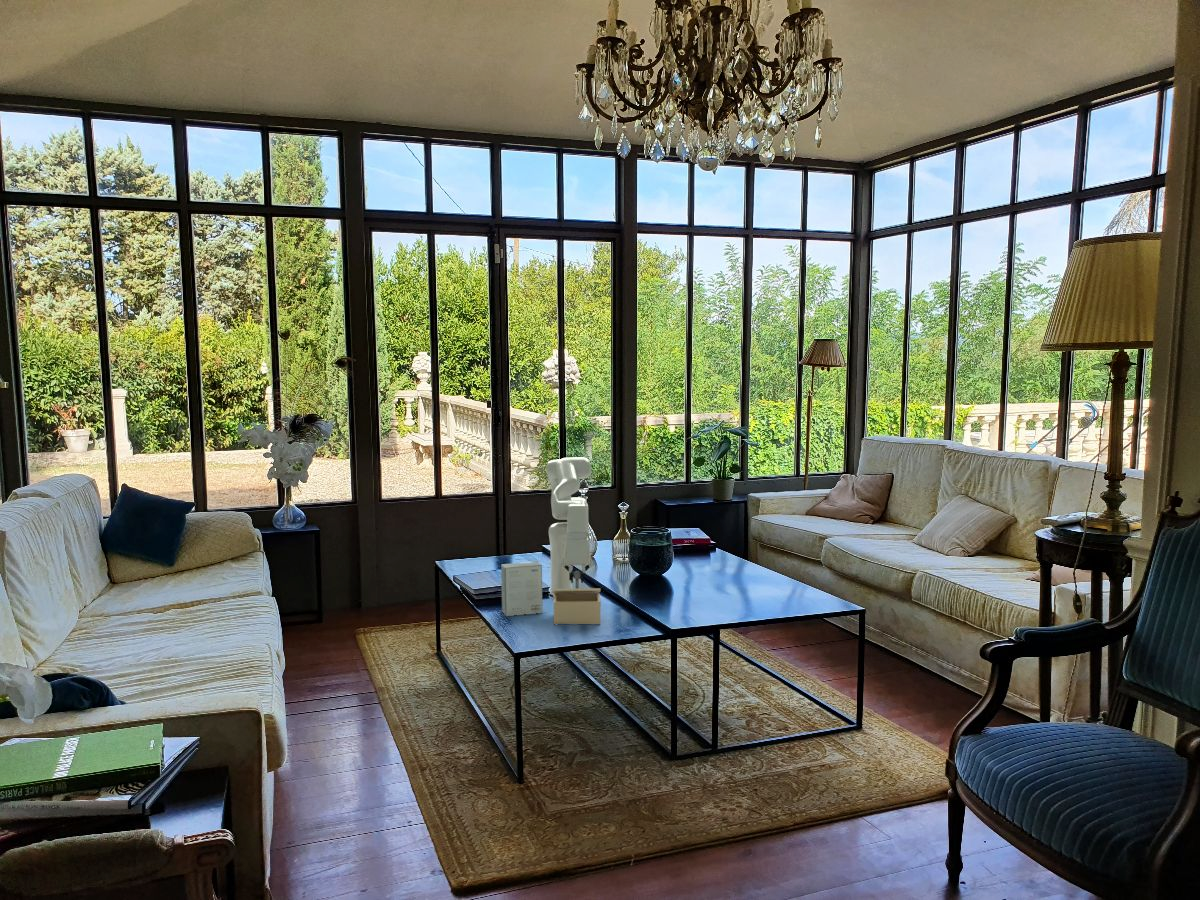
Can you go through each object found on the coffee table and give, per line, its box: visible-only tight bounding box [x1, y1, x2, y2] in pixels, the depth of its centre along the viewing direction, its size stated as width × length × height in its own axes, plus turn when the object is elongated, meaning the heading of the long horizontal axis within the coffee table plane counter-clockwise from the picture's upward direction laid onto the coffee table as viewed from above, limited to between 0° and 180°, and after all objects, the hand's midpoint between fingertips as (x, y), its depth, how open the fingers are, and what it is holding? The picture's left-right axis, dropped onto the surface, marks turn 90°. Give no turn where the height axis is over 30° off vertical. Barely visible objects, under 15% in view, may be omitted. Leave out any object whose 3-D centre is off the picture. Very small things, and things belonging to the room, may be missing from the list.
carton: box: [553, 592, 602, 625], centre depth 333 cm, size 14×18×9 cm
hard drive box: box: [500, 561, 544, 617], centre depth 342 cm, size 16×8×20 cm, turn 108°
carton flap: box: [554, 570, 602, 594], centre depth 333 cm, size 14×18×8 cm
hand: (577, 581), depth 329 cm, fingers closed on carton flap, 3 cm apart
